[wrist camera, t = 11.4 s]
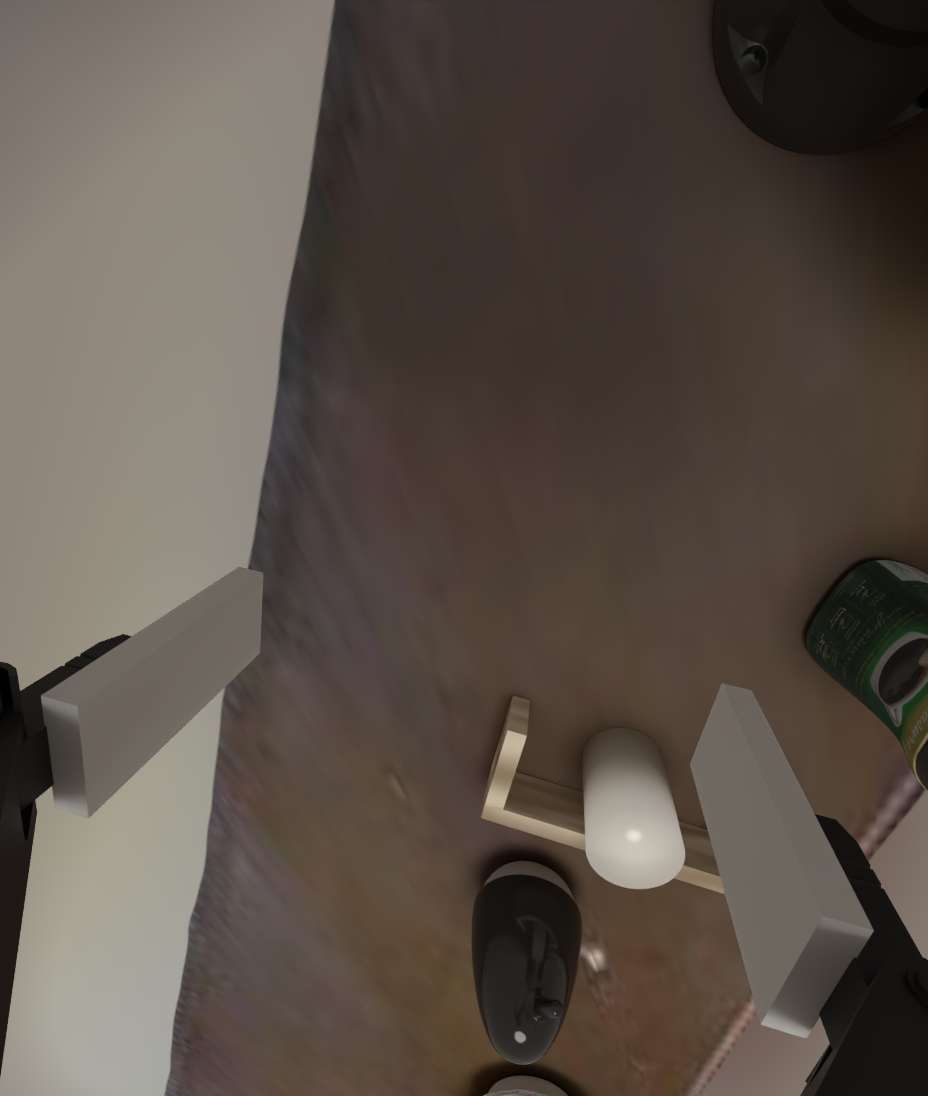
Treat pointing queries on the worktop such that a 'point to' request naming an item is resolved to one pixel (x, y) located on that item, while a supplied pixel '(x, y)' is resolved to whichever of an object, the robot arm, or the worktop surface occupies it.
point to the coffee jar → (881, 649)
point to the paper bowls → (524, 1087)
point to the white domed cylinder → (629, 811)
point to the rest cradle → (566, 805)
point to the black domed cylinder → (524, 958)
